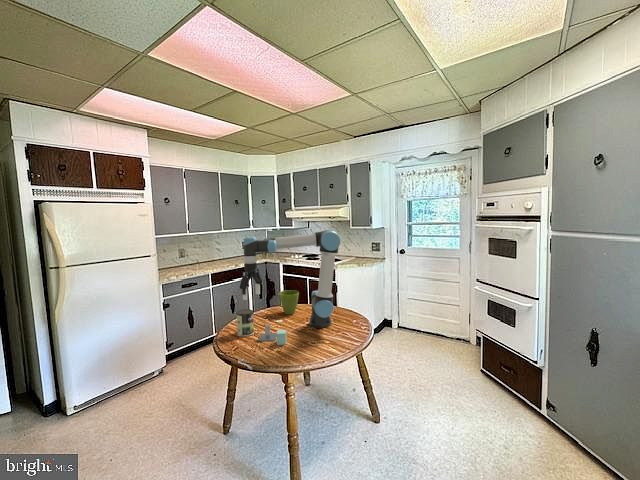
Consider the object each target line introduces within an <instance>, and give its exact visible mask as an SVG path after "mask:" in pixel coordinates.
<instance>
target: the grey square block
mask: <svg viewBox="0 0 640 480" xmlns="http://www.w3.org/2000/svg"><path fill="white" fill-rule="evenodd" d="M264 330H265V333H264V332H263V333H262V332H261V333H260V334H259V338H258V341H257V342H275V341H277V332H271V324H268V323H267V324H265V325H264Z"/></svg>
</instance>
